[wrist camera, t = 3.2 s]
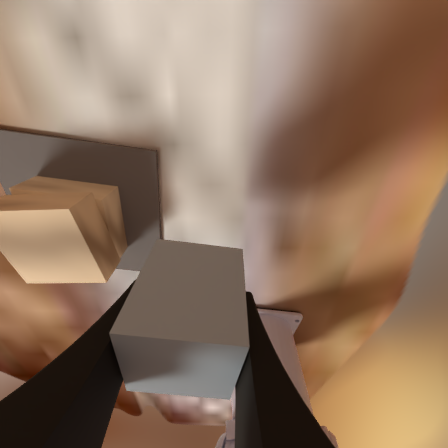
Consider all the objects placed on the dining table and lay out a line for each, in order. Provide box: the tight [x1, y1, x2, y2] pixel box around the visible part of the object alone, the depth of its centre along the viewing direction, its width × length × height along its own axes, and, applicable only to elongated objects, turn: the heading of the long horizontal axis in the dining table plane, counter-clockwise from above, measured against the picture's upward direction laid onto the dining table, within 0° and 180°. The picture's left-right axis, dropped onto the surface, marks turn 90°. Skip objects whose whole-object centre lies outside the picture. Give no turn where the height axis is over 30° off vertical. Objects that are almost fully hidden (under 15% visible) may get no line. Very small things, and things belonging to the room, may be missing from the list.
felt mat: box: [0, 129, 161, 271], centre depth 17 cm, size 12×12×1 cm
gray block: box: [109, 239, 249, 400], centre depth 10 cm, size 4×4×5 cm
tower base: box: [9, 176, 128, 258], centre depth 16 cm, size 6×6×2 cm
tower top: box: [0, 192, 121, 283], centre depth 14 cm, size 6×6×2 cm
